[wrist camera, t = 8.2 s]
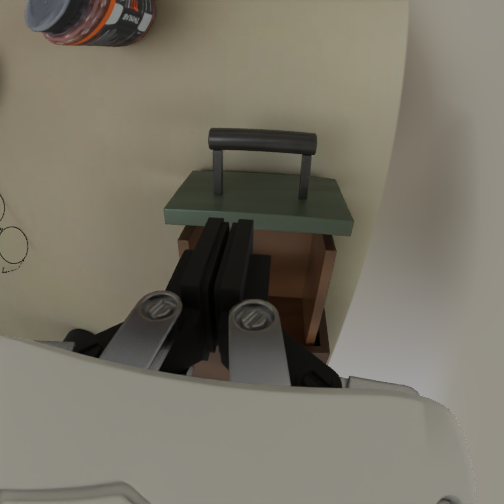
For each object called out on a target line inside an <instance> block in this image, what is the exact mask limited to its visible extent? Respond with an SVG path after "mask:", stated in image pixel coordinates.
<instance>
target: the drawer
mask: <svg viewBox="0 0 504 504" xmlns="http://www.w3.org/2000/svg"><path fill="white" fill-rule="evenodd" d="M208 143H209V148H210V149H211V150H213V171H192V172H191V174H190V175H189V176H188V177H187V179H186V180H185V181H184V183H183V184H182V185H181V186H180V188H179V189H178V190H177V192H176V193H175V194H174V196H173V197H172V198H171V200H170V201H169V202H168V204H167V205H166V206H165V208H164V217H165V224H173V225H186V226H185V227H184V229H183V231H182V233H181V235H180V237H179V239H178V248H179V256H180V258H181V256H182V254H183V252H184V250H186V249H190V250H194V249H195V247H196V244H197V242H198V240H199V238H200V235H201V233H202V231H203V229H204V226H205V224H206V222H207V220H208V218H209V217H214V218H224V222H229V233H230V230H231V227H232V224H233V222H237V223H238V220H239V219H250V220H254V232H253V254H263V255H271V266H270V280H269V294H268V302H269V303H270V304H272V305H273V306H274V307H275V308H276V309H277V311H278V313H279V317H280V323H281V329H283V330H284V331H285V332H286V333H288V334H289V335H290V336H291V337H292V338H294V339H295V340H296V341H297V342H299V343H300V344H301V345H302V346H314V343H315V339H316V335H317V332H318V328H319V324H320V320H321V316H322V312H323V308H324V304H325V300H326V296H327V292H328V288H329V283H330V279H331V275H332V270H333V266H334V261H335V256H336V252H337V251H336V247H335V244H334V240H333V236H332V235H340V236H351V232H352V228H353V223H354V220H353V218H352V216H351V213H350V211H349V209H348V207H347V204H346V202H345V200H344V198H343V195H342V193H341V191H340V189H339V187H338V185H337V183H336V180H335V179H329V178H318V177H310V168H311V158H312V156H311V155H315V153H316V147H317V135H316V134H315V133H306V132H295V131H282V130H266V129H243V128H211V129H210V131H209V137H208ZM223 150H244V151H265V152H280V153H294V154H302V162H301V173H300V176H295V175H282V174H267V173H249V172H227V171H223Z"/></svg>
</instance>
